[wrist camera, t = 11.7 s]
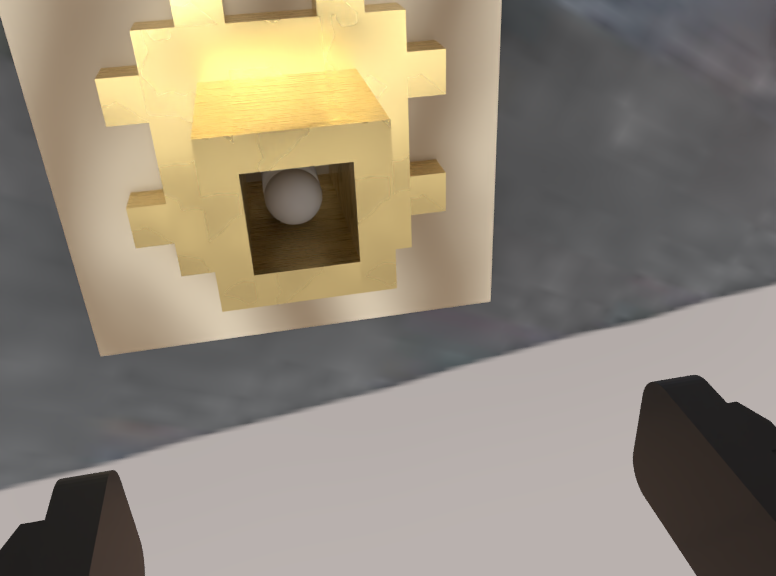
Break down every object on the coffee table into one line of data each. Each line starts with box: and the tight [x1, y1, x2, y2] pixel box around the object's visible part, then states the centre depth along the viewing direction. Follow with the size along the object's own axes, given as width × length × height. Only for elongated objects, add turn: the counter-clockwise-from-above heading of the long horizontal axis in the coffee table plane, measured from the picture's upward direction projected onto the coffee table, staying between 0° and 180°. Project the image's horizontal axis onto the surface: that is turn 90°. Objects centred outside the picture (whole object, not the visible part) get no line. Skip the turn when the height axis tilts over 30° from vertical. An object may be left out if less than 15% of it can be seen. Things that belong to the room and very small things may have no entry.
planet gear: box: [95, 0, 446, 312], centre depth 24 cm, size 12×12×8 cm
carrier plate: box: [0, 0, 502, 356], centre depth 25 cm, size 17×17×8 cm
